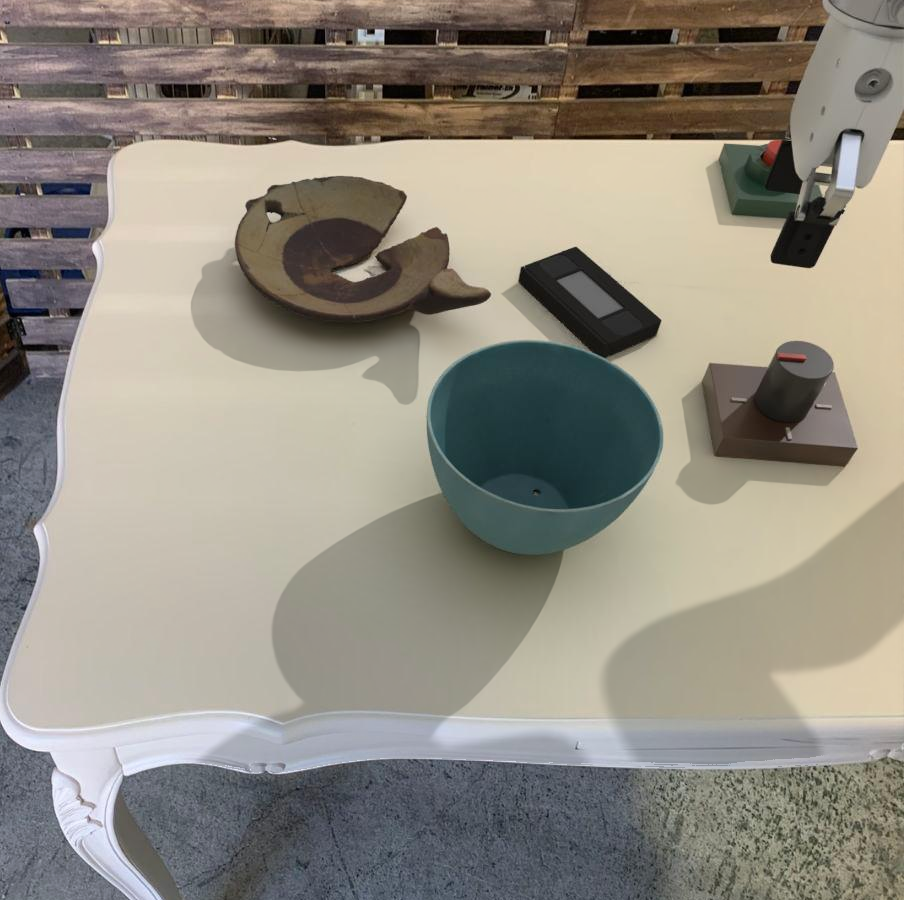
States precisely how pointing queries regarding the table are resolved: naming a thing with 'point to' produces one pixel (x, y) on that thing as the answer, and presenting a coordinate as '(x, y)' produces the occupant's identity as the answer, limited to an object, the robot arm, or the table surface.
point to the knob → (793, 381)
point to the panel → (774, 421)
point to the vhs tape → (589, 302)
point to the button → (771, 152)
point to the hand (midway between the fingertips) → (787, 225)
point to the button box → (754, 184)
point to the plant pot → (540, 443)
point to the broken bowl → (344, 253)
